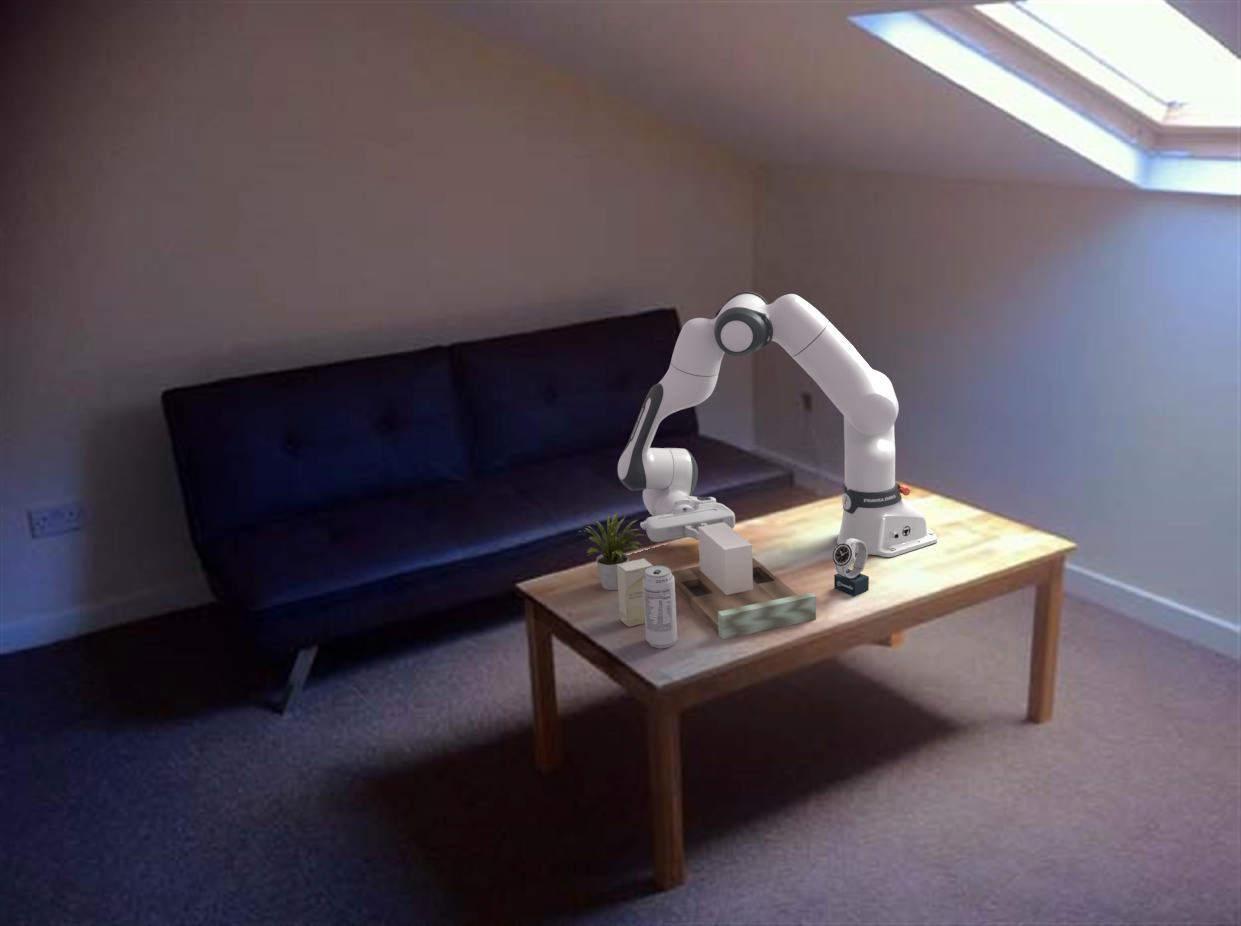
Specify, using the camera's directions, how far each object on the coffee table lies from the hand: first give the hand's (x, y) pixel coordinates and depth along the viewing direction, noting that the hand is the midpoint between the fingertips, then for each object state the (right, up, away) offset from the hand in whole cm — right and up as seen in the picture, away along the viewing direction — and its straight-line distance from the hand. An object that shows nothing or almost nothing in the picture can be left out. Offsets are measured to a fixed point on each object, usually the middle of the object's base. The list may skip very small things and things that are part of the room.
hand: (703, 535), depth 243 cm
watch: (+30, -11, -12) cm, 34 cm away
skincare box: (-15, -16, -19) cm, 29 cm away
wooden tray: (+6, -12, -13) cm, 19 cm away
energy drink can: (-10, -19, -29) cm, 36 cm away
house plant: (-20, -11, -4) cm, 23 cm away
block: (+4, -9, -8) cm, 13 cm away
